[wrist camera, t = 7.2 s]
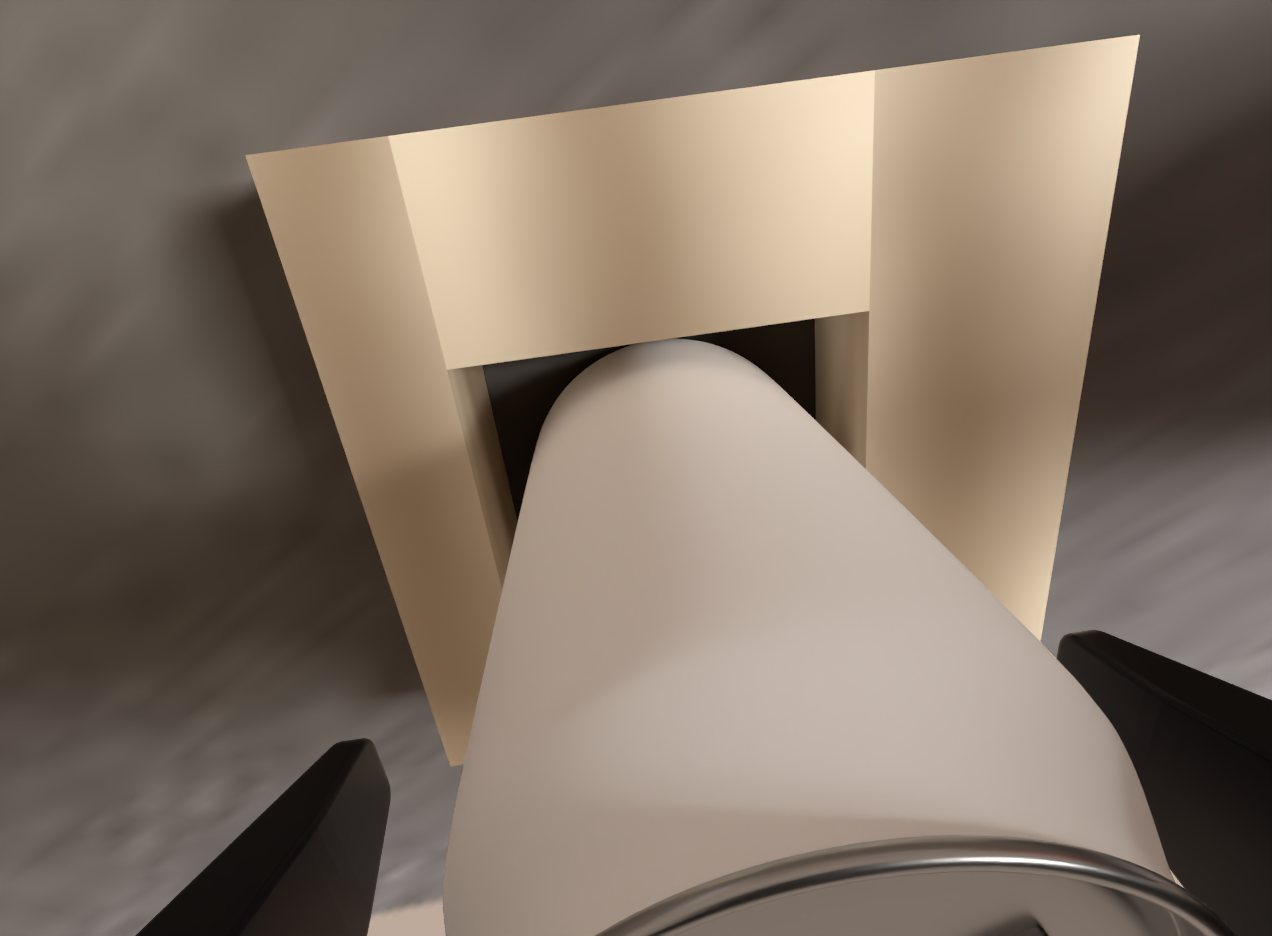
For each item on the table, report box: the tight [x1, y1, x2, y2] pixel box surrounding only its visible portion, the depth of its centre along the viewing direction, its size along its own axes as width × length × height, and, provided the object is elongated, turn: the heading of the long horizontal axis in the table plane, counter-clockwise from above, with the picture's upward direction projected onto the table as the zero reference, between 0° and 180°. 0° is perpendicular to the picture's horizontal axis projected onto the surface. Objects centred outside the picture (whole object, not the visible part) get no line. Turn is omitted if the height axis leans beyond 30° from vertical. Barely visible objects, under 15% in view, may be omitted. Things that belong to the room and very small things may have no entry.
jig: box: [245, 35, 1140, 766], centre depth 14 cm, size 14×13×3 cm
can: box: [443, 339, 1236, 936], centre depth 10 cm, size 6×6×12 cm
